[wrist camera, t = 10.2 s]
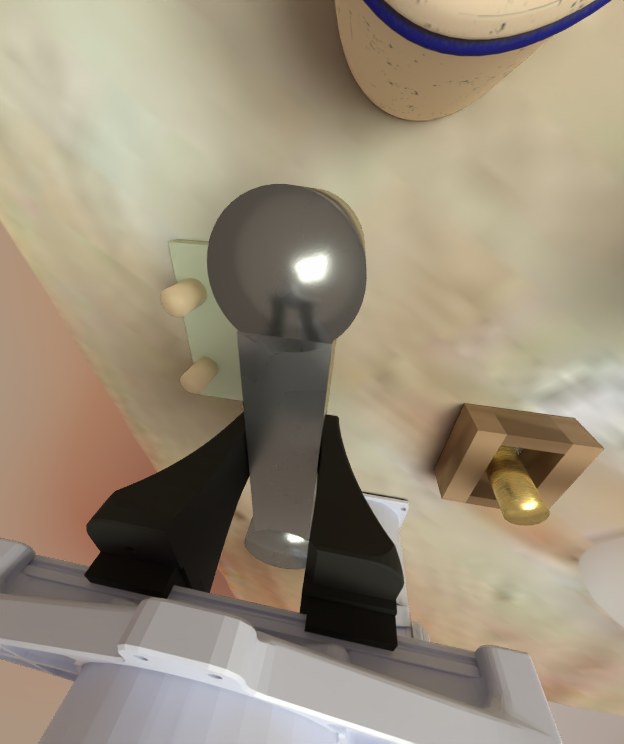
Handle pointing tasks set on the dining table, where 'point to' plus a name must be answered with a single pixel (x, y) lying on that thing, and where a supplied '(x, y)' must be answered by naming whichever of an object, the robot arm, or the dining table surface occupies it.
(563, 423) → the slot block
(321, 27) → the dining table surface
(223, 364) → the rack
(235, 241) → the ball-knob grey rod
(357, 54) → the teacup with lid
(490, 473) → the pin
